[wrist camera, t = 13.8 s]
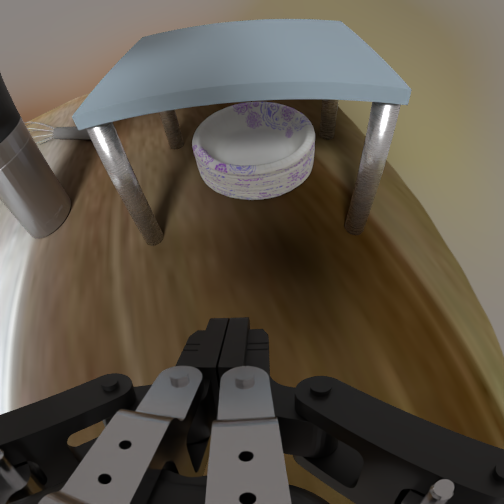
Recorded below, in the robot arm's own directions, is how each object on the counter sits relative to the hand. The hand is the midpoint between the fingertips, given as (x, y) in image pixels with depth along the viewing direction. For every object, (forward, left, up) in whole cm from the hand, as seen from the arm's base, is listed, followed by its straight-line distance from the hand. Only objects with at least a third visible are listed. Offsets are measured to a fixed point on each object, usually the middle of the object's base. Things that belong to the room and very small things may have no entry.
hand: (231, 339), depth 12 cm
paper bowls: (-14, +25, -18) cm, 33 cm away
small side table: (-14, +24, -17) cm, 33 cm away
